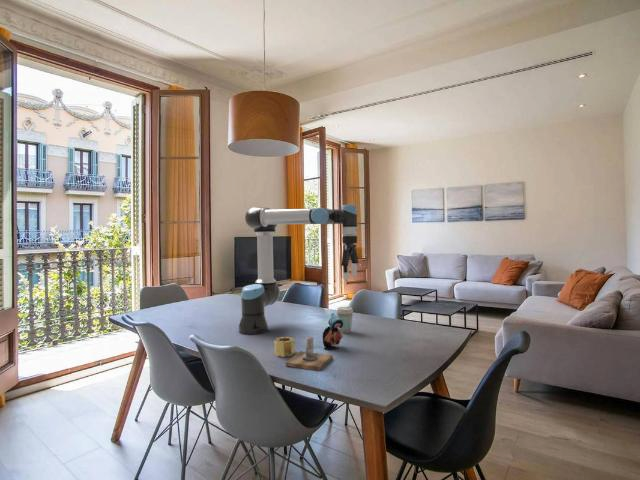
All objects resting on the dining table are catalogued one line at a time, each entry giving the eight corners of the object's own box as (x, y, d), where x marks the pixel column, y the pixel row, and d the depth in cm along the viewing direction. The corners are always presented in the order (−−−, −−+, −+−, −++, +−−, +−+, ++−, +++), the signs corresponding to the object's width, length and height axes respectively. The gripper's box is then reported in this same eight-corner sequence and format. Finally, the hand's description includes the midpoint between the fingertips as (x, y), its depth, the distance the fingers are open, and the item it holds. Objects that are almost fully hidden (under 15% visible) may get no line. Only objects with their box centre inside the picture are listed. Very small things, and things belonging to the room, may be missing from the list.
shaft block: (285, 366, 142) (285, 341, 142) (300, 354, 155) (300, 332, 155) (320, 370, 137) (319, 345, 137) (332, 358, 150) (332, 335, 150)
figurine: (332, 352, 158) (331, 317, 157) (319, 349, 162) (319, 314, 162) (346, 346, 165) (346, 313, 165) (334, 343, 170) (334, 311, 170)
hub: (271, 355, 155) (271, 341, 154) (280, 349, 162) (280, 336, 162) (289, 357, 152) (288, 343, 152) (297, 351, 159) (296, 337, 159)
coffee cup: (352, 334, 185) (352, 310, 185) (335, 333, 187) (335, 309, 186) (354, 329, 193) (354, 306, 193) (338, 329, 195) (337, 306, 195)
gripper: (349, 235, 175) (350, 280, 175) (363, 235, 198) (363, 274, 198) (334, 236, 178) (335, 280, 178) (349, 235, 201) (350, 274, 201)
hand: (350, 277), depth 188 cm, fingers open, 13 cm apart
